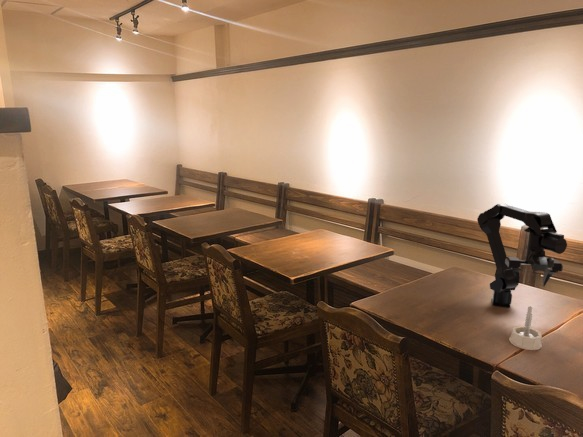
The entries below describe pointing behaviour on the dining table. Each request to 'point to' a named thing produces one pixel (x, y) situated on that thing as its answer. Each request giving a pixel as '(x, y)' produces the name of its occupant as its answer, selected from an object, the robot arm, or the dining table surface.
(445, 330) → the dining table surface
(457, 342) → the dining table surface
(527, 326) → the screw
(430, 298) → the dining table surface
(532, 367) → the dining table surface
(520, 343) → the white pet bowl
